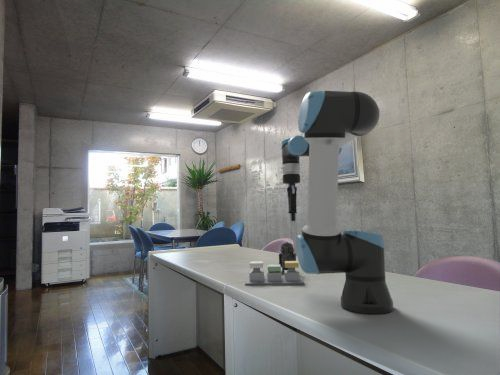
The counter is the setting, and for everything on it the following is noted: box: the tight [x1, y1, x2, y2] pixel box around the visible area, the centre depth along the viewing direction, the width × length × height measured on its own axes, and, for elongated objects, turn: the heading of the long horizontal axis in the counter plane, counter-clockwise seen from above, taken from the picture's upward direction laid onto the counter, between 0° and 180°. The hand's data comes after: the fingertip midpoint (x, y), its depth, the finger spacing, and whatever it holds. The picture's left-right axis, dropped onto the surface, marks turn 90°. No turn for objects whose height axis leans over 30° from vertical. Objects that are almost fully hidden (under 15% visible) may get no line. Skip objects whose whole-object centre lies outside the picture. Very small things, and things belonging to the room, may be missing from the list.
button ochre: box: [285, 260, 300, 272], centre depth 138 cm, size 6×6×5 cm
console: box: [244, 269, 306, 286], centre depth 138 cm, size 24×16×4 cm, turn 87°
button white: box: [249, 260, 264, 273], centre depth 139 cm, size 6×6×5 cm
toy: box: [278, 241, 297, 275], centre depth 156 cm, size 8×6×15 cm
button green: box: [267, 263, 282, 272], centre depth 138 cm, size 6×6×5 cm
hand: (293, 228), depth 138 cm, fingers closed
